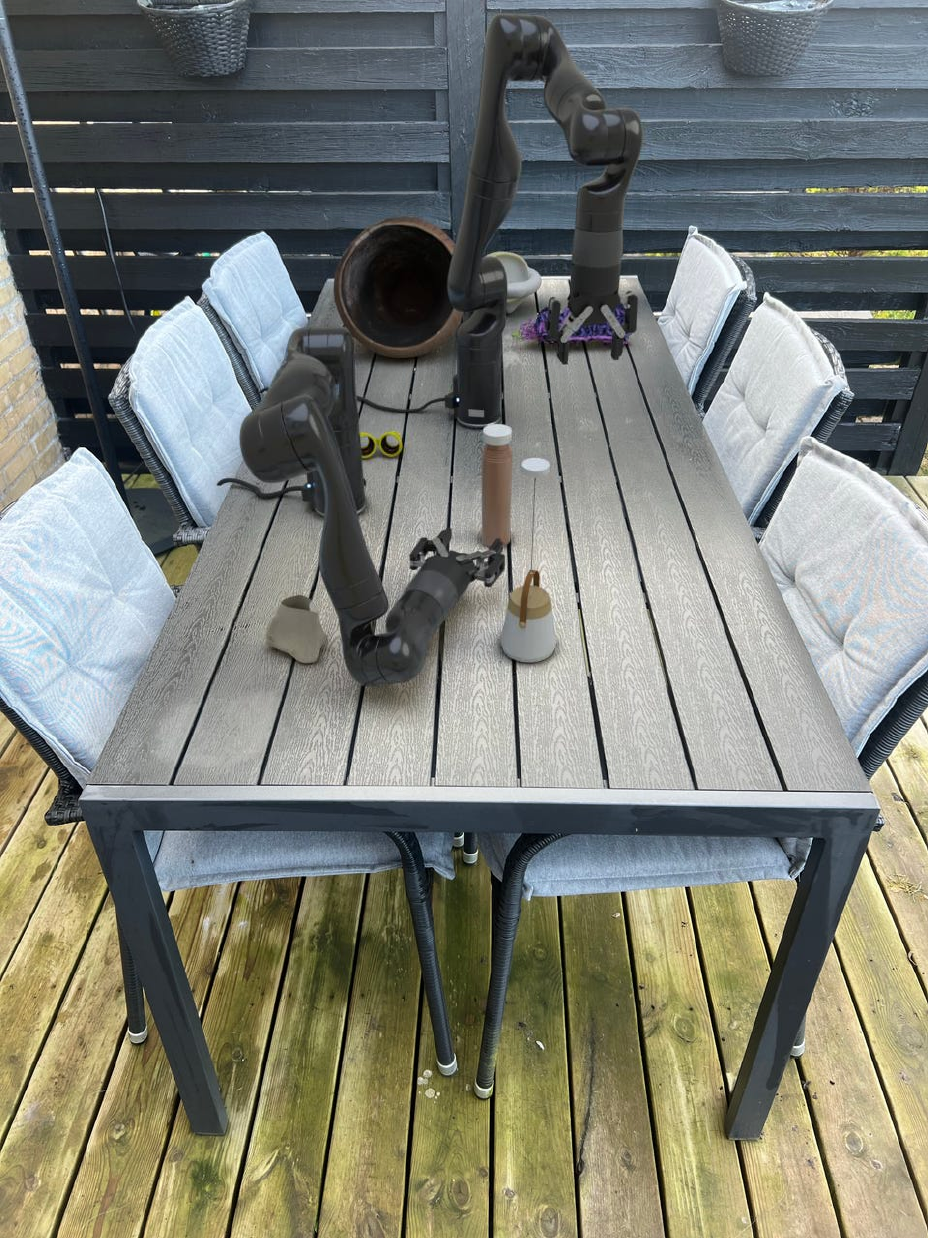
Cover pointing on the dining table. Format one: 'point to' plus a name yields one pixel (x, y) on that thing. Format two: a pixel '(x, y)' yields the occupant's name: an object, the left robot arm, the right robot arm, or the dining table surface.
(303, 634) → the grey hollow flared piece
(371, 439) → the opera glasses
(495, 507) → the bottle
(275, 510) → the dining table surface
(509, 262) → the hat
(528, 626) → the pendant light
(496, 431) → the cap
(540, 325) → the decorative ornament
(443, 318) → the pot
